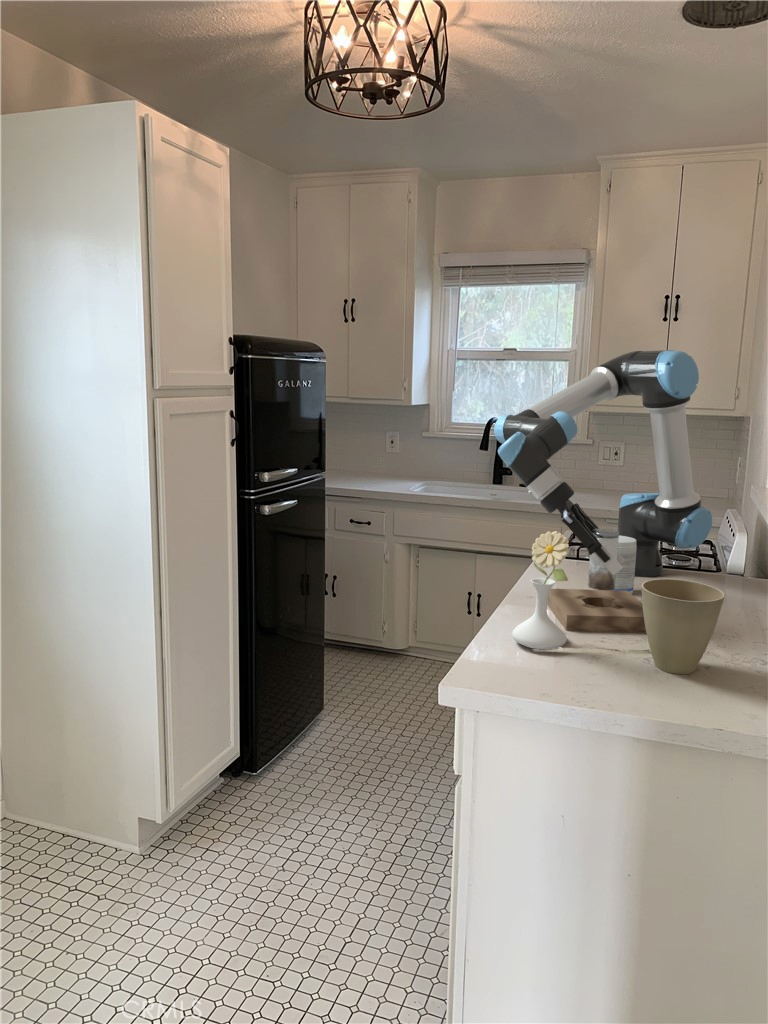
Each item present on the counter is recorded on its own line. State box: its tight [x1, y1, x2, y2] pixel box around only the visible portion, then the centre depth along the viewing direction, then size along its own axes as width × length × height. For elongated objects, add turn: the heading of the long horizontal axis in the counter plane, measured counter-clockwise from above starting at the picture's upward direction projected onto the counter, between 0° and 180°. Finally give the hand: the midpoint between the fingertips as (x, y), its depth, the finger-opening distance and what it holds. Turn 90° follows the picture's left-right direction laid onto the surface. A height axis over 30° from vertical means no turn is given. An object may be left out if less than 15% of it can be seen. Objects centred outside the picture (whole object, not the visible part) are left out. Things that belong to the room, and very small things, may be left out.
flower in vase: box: [511, 530, 570, 650], centre depth 152 cm, size 13×11×25 cm
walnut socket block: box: [547, 588, 647, 634], centre depth 171 cm, size 20×20×4 cm
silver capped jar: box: [587, 528, 619, 590], centre depth 169 cm, size 6×6×13 cm
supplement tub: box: [613, 536, 637, 594], centre depth 193 cm, size 10×10×15 cm
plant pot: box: [641, 578, 725, 675], centre depth 144 cm, size 15×15×16 cm
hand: (619, 567), depth 168 cm, fingers closed on silver capped jar, 6 cm apart
